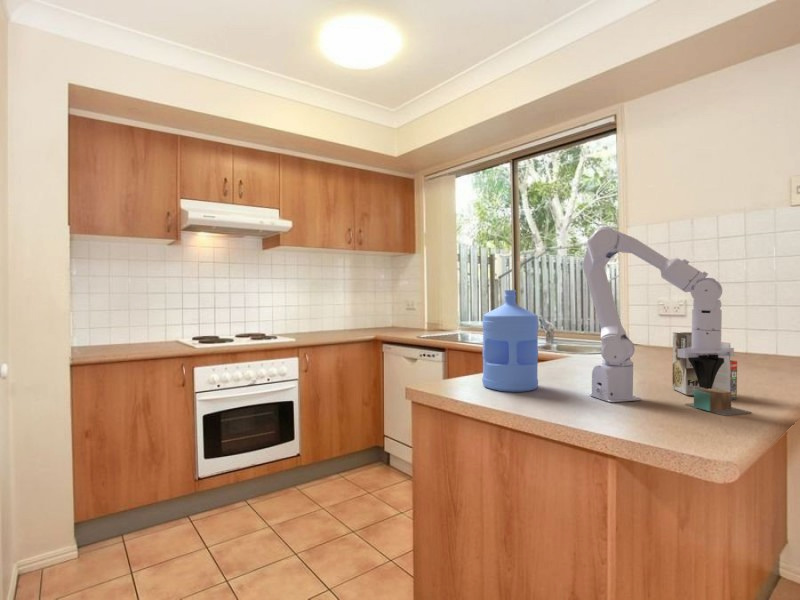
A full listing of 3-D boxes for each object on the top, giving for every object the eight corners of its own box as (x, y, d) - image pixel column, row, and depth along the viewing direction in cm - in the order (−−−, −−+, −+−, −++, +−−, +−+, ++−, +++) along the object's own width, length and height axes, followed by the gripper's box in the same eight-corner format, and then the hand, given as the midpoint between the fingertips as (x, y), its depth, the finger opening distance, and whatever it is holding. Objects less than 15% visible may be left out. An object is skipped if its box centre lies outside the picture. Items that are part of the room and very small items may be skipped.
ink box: (705, 392, 123) (705, 339, 123) (737, 398, 116) (738, 342, 116) (697, 394, 122) (698, 340, 121) (729, 400, 115) (730, 343, 114)
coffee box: (712, 396, 118) (713, 334, 118) (685, 395, 119) (686, 334, 119) (696, 389, 127) (697, 331, 127) (671, 388, 128) (672, 331, 128)
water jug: (480, 380, 139) (481, 290, 139) (532, 382, 138) (533, 290, 137) (484, 391, 124) (484, 290, 123) (543, 393, 122) (543, 290, 122)
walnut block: (709, 393, 103) (731, 392, 105) (694, 389, 107) (715, 388, 109) (709, 411, 103) (731, 409, 105) (693, 406, 107) (715, 405, 109)
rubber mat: (724, 415, 100) (724, 414, 100) (684, 404, 110) (684, 403, 110) (751, 413, 103) (751, 411, 103) (710, 402, 112) (710, 401, 112)
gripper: (697, 331, 99) (696, 393, 100) (747, 330, 103) (746, 389, 103) (670, 329, 106) (669, 386, 106) (718, 327, 110) (717, 383, 110)
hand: (705, 387), depth 105 cm, fingers closed
